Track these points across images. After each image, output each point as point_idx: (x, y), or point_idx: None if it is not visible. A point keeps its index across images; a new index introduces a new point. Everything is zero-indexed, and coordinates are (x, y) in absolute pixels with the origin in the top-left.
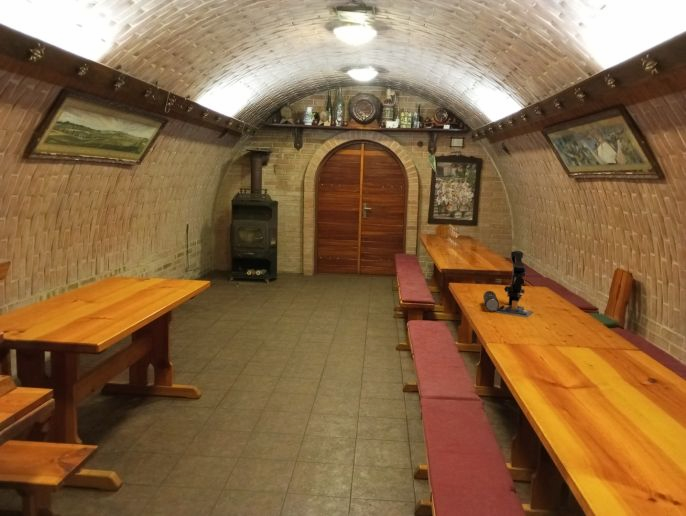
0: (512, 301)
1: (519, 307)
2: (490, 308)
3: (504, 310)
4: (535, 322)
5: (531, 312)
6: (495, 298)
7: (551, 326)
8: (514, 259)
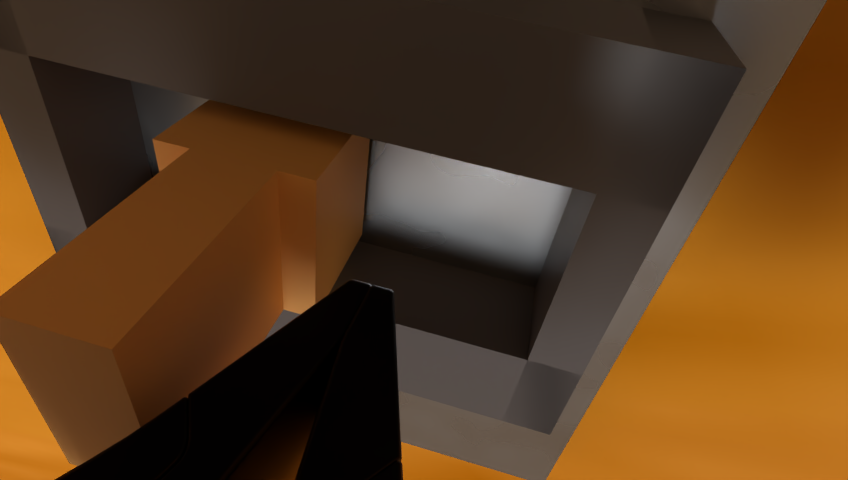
0: (29, 289)
1: (403, 337)
2: None
3: None
4: (2, 382)
5: (421, 444)
6: None
7: (17, 466)
8: None
